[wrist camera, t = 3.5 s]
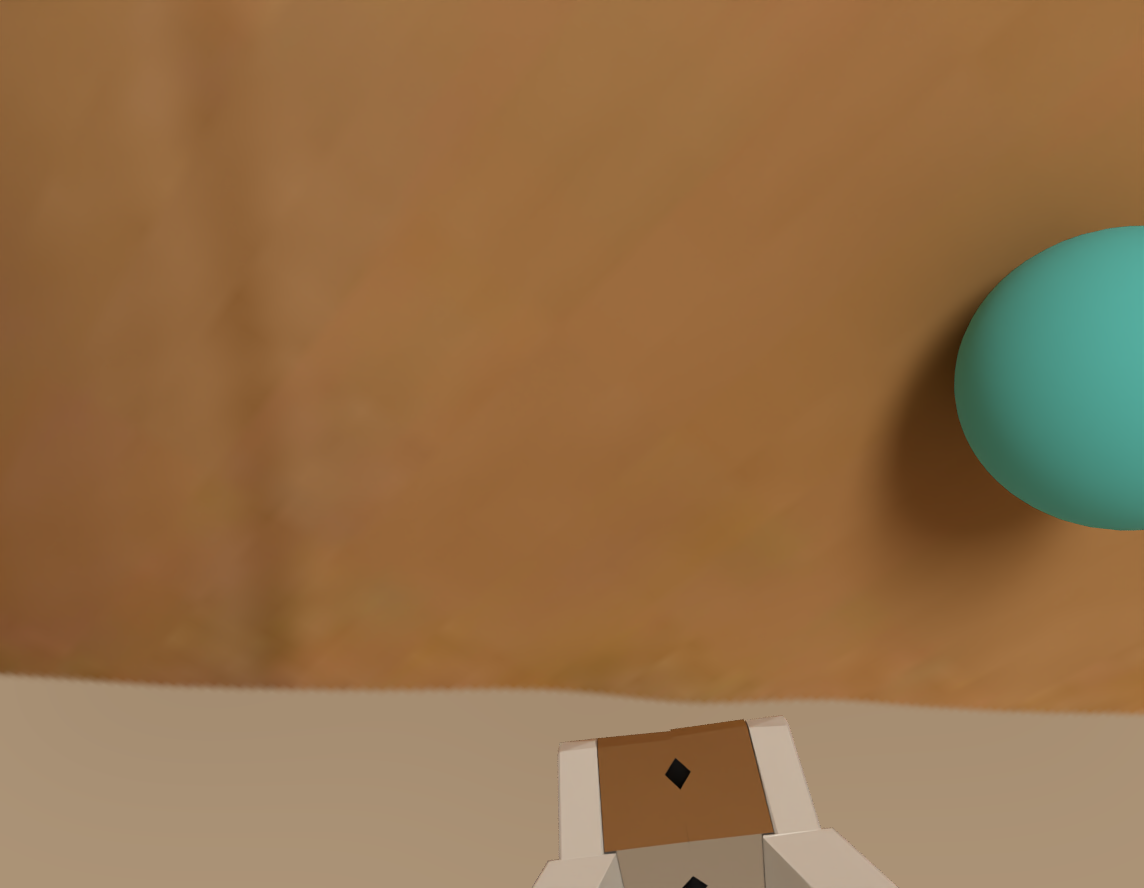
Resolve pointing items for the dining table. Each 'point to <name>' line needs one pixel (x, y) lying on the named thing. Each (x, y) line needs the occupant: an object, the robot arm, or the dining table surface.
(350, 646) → the dining table surface
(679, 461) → the dining table surface
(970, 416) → the ball
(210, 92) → the dining table surface
